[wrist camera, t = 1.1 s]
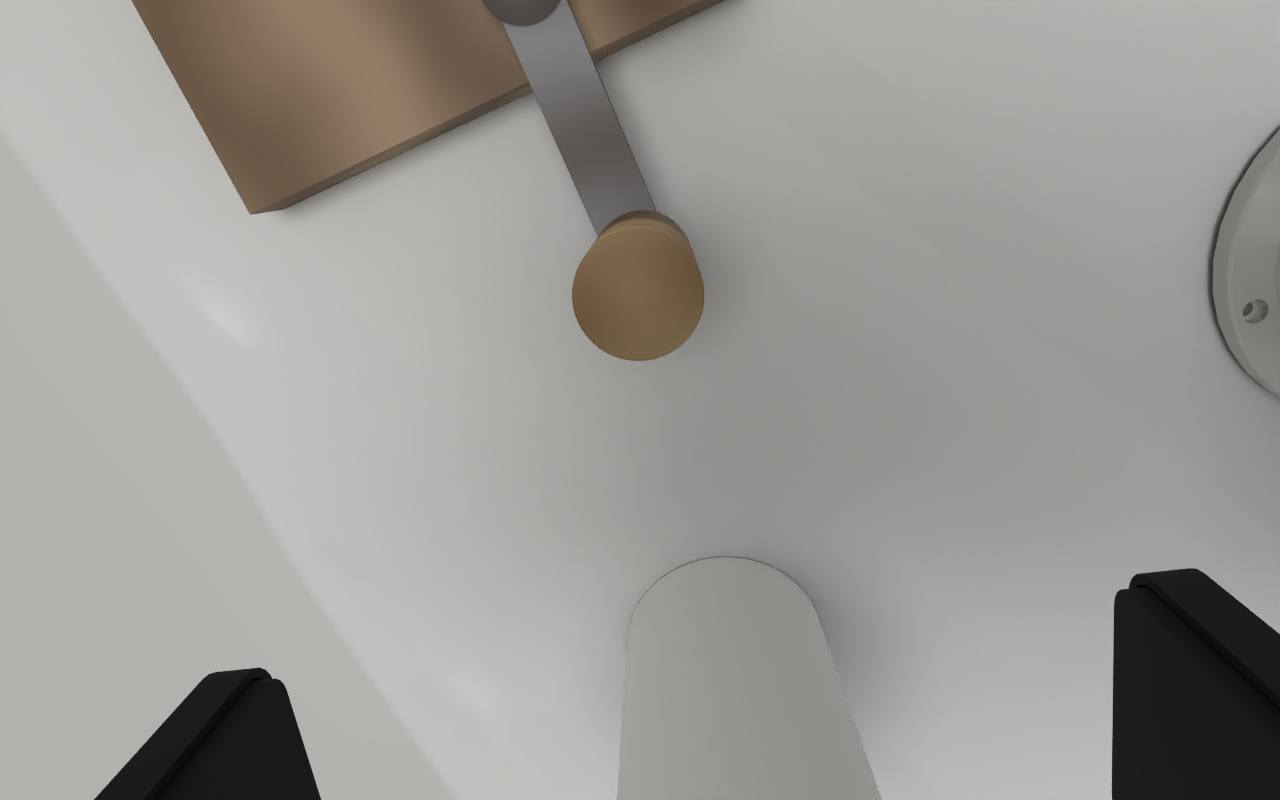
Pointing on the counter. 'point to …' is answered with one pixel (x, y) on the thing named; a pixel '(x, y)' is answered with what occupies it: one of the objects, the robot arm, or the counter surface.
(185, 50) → the stool seat
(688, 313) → the hinged leg
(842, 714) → the cup
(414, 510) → the counter surface
